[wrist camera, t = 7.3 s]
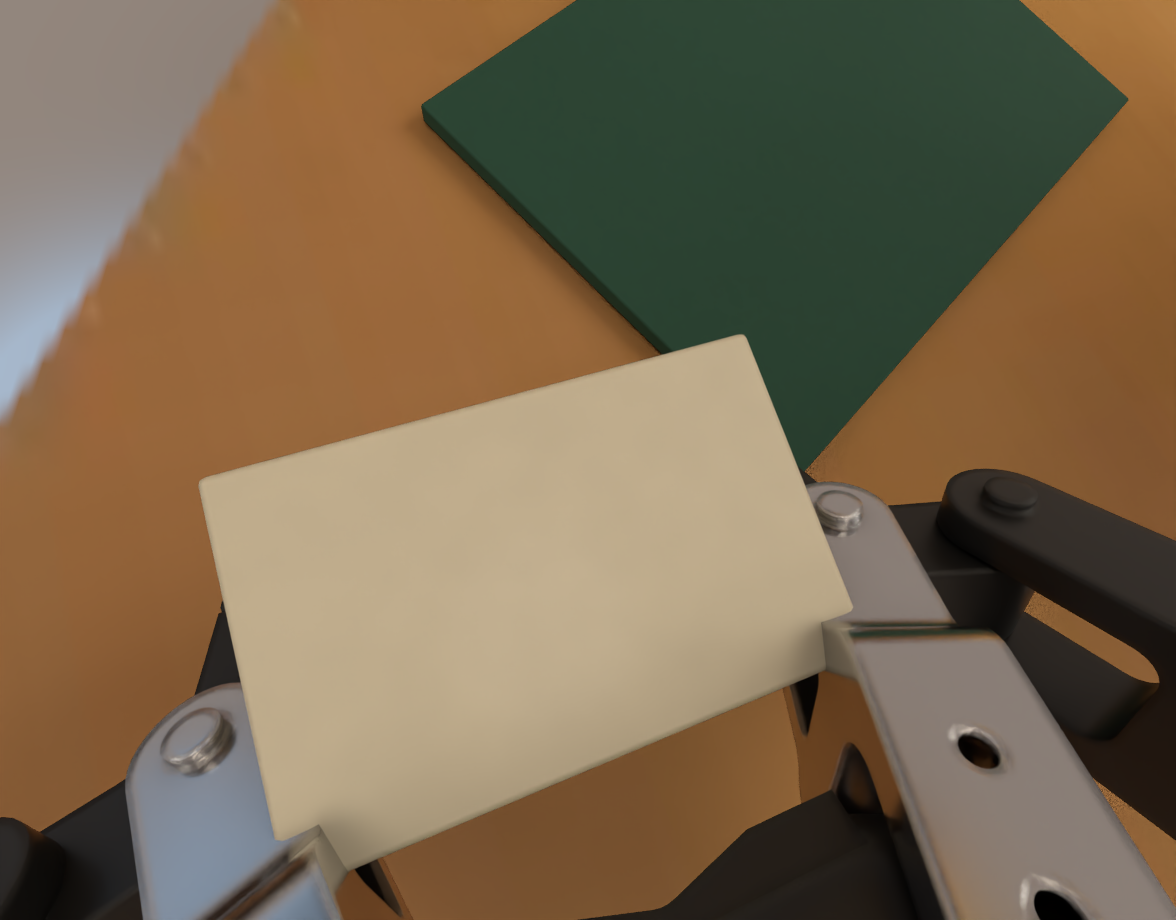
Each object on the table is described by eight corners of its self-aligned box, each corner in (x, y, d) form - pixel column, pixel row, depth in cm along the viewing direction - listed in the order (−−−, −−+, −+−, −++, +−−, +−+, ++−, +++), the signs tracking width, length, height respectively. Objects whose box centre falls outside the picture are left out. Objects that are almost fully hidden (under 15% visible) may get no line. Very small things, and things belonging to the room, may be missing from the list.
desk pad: (821, -151, 21) (830, -172, 20) (1112, 112, 20) (1130, 98, 20) (423, 121, 16) (419, 104, 15) (789, 480, 15) (800, 476, 15)
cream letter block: (601, 469, 15) (739, 312, 6) (646, 603, 14) (874, 652, 5) (396, 531, 13) (187, 456, 5) (436, 680, 13) (283, 903, 4)
